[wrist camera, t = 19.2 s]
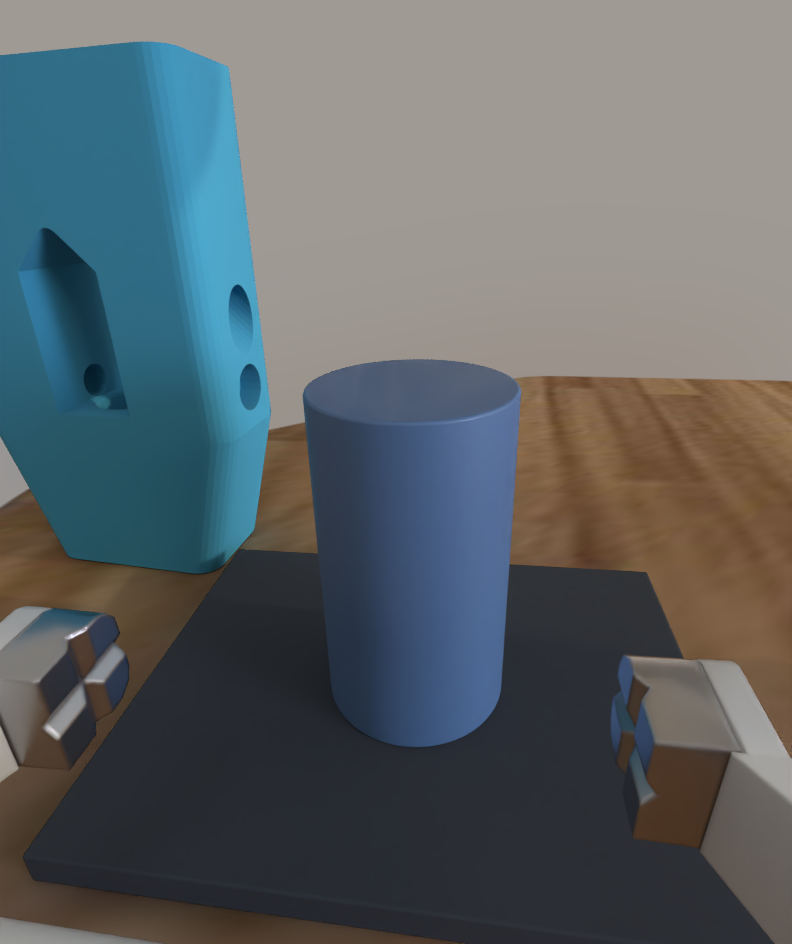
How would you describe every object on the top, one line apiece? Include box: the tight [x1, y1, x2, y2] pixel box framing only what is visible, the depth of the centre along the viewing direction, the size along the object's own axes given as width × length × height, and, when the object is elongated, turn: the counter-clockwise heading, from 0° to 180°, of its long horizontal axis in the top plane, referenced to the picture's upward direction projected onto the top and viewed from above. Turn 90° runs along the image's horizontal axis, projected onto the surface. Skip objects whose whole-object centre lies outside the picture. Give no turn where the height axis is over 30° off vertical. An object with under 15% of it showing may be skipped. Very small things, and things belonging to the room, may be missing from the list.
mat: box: [23, 549, 774, 944], centre depth 19 cm, size 18×14×1 cm
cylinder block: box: [303, 359, 521, 747], centre depth 17 cm, size 6×6×10 cm
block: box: [0, 42, 271, 574], centre depth 25 cm, size 12×5×20 cm, turn 77°
